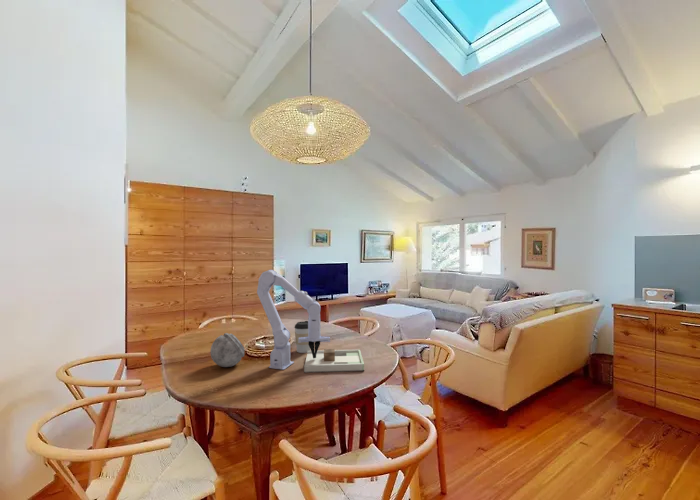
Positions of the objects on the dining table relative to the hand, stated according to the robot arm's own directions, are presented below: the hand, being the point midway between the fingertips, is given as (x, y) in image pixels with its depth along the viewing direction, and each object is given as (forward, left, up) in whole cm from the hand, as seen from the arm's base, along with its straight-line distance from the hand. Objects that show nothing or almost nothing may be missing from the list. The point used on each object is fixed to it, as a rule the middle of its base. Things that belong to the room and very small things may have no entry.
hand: (314, 357), depth 148 cm
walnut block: (+3, -6, -1) cm, 7 cm away
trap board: (+3, -8, -3) cm, 9 cm away
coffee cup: (+15, +14, -3) cm, 21 cm away
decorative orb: (-15, +37, -3) cm, 40 cm away
